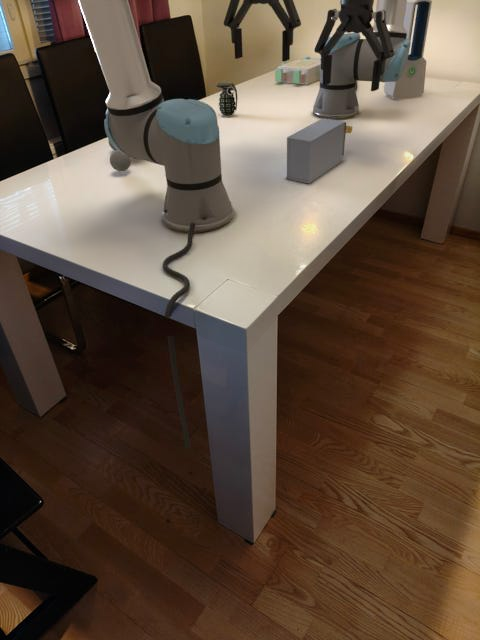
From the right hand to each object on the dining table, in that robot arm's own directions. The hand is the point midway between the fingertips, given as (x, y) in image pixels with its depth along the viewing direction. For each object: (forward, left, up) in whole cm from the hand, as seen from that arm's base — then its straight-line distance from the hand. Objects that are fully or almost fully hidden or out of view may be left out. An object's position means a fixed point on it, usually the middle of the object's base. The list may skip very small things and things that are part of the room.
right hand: (349, 87), depth 122 cm
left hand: (-1, -23, +6) cm, 24 cm away
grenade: (-35, -43, -18) cm, 58 cm away
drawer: (+6, -4, -17) cm, 18 cm away
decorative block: (-91, -26, -18) cm, 96 cm away
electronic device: (-65, +15, -18) cm, 69 cm away
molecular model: (+8, -56, -18) cm, 59 cm away
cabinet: (+11, -7, -18) cm, 22 cm away
